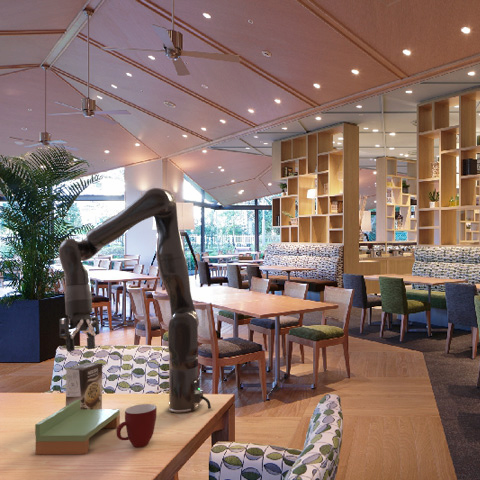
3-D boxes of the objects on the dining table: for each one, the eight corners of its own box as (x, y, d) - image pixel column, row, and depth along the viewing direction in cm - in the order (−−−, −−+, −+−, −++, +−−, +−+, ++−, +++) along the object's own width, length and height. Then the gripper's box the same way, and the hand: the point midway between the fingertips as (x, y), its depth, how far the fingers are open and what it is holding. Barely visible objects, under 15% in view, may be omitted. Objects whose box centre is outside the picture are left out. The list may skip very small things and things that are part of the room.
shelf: (119, 425, 150) (119, 399, 150) (84, 454, 130) (85, 424, 130) (76, 425, 150) (76, 399, 150) (35, 454, 130) (35, 424, 130)
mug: (127, 456, 129) (127, 418, 129) (110, 449, 133) (110, 412, 133) (162, 442, 138) (162, 407, 138) (145, 436, 142) (145, 402, 142)
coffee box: (82, 421, 154) (82, 369, 154) (64, 419, 155) (65, 368, 155) (103, 411, 162) (103, 362, 162) (86, 409, 164) (86, 361, 164)
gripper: (71, 297, 152) (74, 350, 149) (104, 298, 165) (107, 346, 163) (50, 301, 153) (53, 353, 150) (85, 301, 167) (87, 349, 164)
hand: (81, 350), depth 157 cm, fingers open, 8 cm apart
